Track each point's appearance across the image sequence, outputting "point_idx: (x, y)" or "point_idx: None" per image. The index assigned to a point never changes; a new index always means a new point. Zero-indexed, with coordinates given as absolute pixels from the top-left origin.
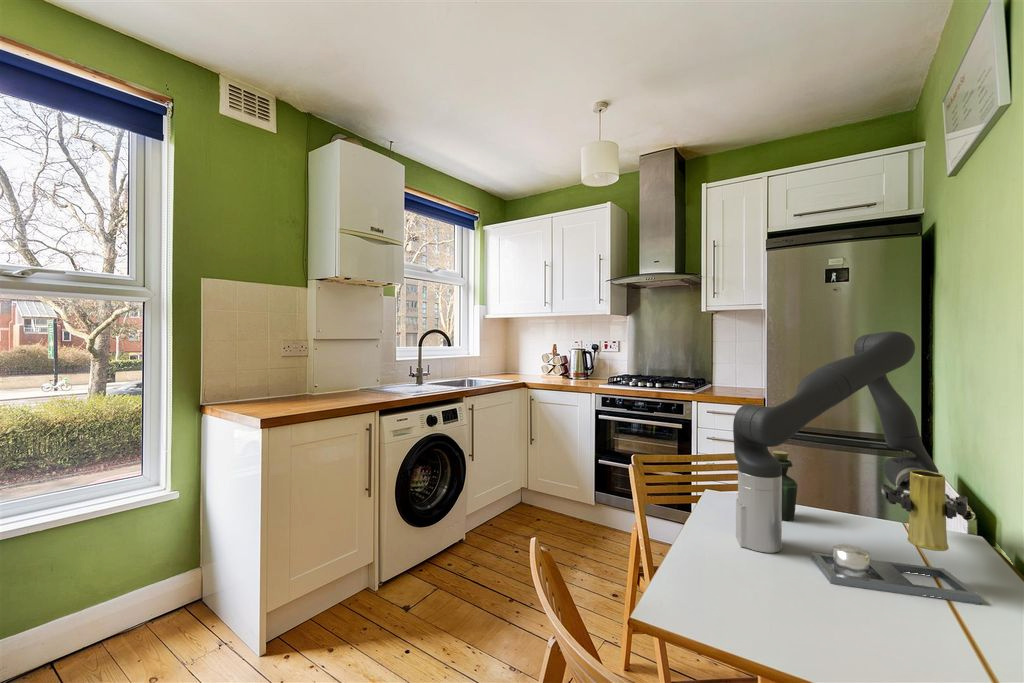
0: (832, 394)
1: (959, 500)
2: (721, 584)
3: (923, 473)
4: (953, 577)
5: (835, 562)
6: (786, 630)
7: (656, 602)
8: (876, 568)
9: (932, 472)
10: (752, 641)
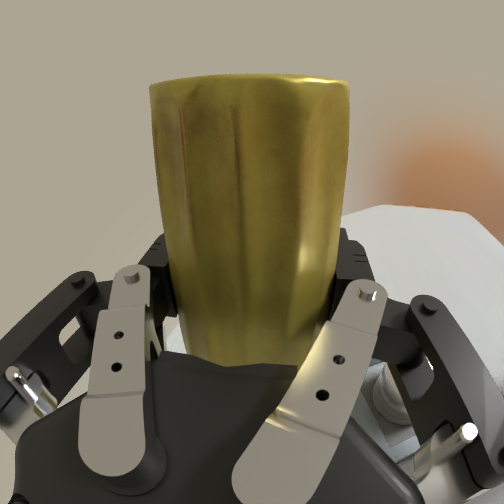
0: None
1: (59, 307)
2: (484, 266)
3: (249, 102)
4: None
5: None
6: (406, 232)
7: (480, 227)
8: (366, 418)
9: (186, 82)
10: (414, 217)
